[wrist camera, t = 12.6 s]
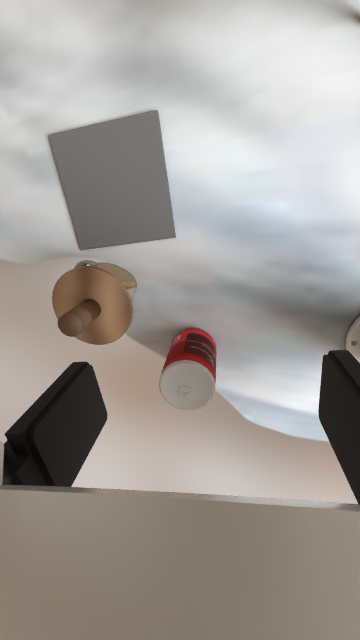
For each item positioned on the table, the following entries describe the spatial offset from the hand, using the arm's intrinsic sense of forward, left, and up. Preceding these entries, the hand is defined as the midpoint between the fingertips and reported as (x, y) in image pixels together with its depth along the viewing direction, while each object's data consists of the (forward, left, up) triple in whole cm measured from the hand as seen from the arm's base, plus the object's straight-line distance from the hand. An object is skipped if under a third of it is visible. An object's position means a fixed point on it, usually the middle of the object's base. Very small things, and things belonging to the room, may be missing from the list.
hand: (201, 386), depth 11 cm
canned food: (+5, +15, -31) cm, 34 cm away
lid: (+17, +4, -23) cm, 28 cm away
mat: (+13, -11, -30) cm, 35 cm away
